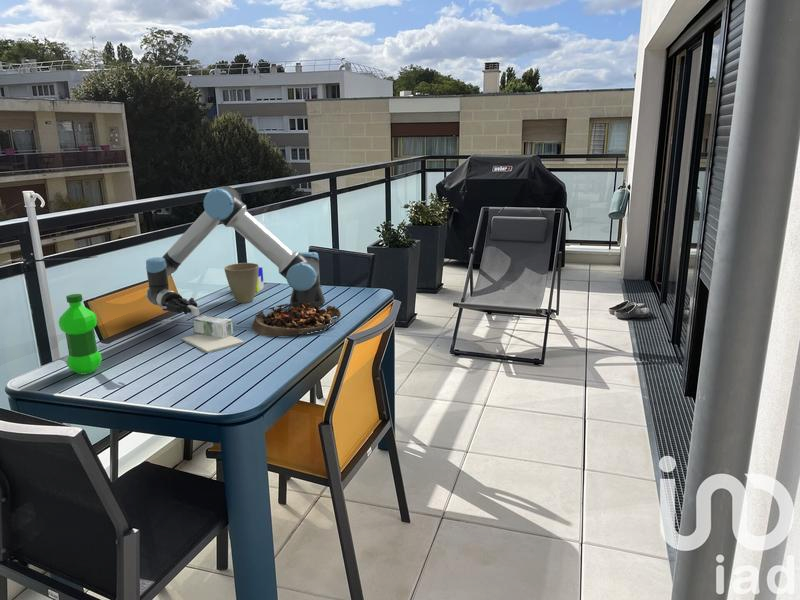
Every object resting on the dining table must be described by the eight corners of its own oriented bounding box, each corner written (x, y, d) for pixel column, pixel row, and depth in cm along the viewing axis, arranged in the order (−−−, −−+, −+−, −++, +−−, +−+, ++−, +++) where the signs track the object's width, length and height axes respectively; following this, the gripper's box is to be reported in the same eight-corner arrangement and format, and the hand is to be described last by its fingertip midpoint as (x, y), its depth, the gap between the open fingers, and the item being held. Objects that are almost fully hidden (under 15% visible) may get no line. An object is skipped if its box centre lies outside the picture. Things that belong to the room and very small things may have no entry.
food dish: (329, 310, 261) (328, 293, 259) (351, 334, 231) (351, 315, 229) (245, 318, 249) (244, 299, 246) (257, 344, 219) (256, 323, 217)
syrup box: (204, 329, 232) (234, 333, 226) (193, 333, 227) (223, 338, 221) (203, 314, 231) (233, 319, 224) (191, 318, 225) (222, 323, 219)
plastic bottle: (94, 363, 201) (82, 289, 194) (109, 370, 194) (98, 294, 188) (62, 372, 193) (49, 296, 187) (77, 380, 187) (64, 301, 180)
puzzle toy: (263, 287, 298) (262, 267, 296) (257, 292, 289) (255, 271, 286) (244, 287, 299) (242, 267, 297) (236, 292, 290) (235, 271, 287)
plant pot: (224, 299, 277) (221, 265, 273) (257, 295, 283) (254, 261, 279) (230, 307, 264) (227, 271, 260) (264, 302, 270) (262, 267, 266)
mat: (182, 340, 222) (182, 337, 222) (217, 331, 232) (217, 329, 231) (207, 353, 208) (207, 351, 208) (244, 343, 217) (244, 341, 217)
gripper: (186, 306, 247) (214, 318, 230) (155, 313, 238) (181, 325, 221) (184, 288, 245) (212, 298, 228) (152, 294, 236) (179, 305, 220)
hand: (197, 312), depth 225 cm, fingers closed
